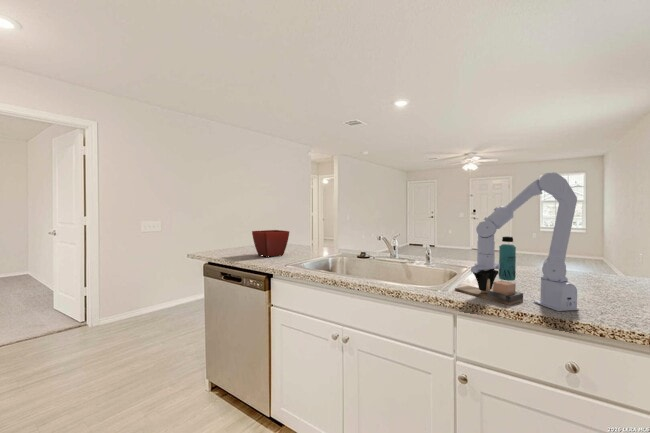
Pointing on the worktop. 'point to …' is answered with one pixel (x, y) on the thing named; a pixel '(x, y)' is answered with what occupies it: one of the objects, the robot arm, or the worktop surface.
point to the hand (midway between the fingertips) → (485, 289)
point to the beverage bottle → (507, 260)
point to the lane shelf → (492, 295)
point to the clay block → (501, 287)
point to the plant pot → (270, 242)
